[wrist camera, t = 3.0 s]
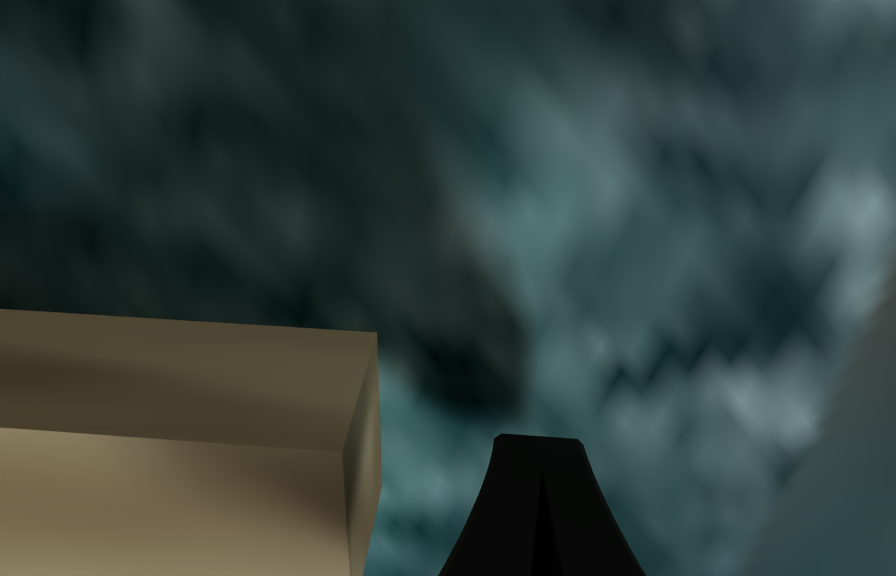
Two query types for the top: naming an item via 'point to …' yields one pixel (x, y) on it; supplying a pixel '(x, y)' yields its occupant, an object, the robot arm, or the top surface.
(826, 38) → the top surface
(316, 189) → the top surface
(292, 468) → the maple t block
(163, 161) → the top surface
